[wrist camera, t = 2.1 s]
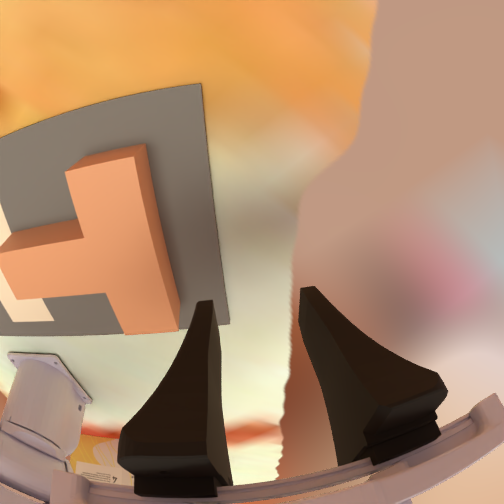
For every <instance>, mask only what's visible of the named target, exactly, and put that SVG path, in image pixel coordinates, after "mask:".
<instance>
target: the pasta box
mask: <svg viewBox="0 0 504 504" xmlns="http://www.w3.org/2000/svg"><path fill="white" fill-rule="evenodd" d="M118 442H119V439H113V438H105V437H97V436H91V435H84V434H80V440H79V444H78V446H77V448H76V449H75V451H74V452H73V453H72V454H71V458H70V464H71V467H72V469H73V472H74V473H75V474H79V475H82V476H84V477H86V478H87V479H88V480H90V481H96V482H103V483H111V484H119V485H128V486H134V475H132V474H131V473H129V472H128V471H127V470H125V469H124V468H122V467H121V466H120V465H119V464H118V463H117V453H118Z"/></svg>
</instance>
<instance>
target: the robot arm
mask: <svg viewBox="0 0 504 504" xmlns="http://www.w3.org/2000/svg"><path fill="white" fill-rule="evenodd" d="M298 322H299V326H300V330H301V334H302V338H303V341H304V344H305V347H306V349H307V352H308V355H309V357H310V360H311V362H312V365H313V367H314V370H315V372H316V375H317V377H318V380H319V383H320V386H321V389H322V392H323V396H324V400H325V404H326V407H327V412H328V416H329V420H330V425H331V430H332V435H333V440H334V444H335V450H336V456H337V462H338V467H335V468H331V469H327V470H323V471H320V472H315V473H311V474H306V475H301V476H296V477H291V478H287V479H281V480H274V481H268V482H261V483H253V484H245V485H235V486H233V480H232V474H231V468H230V462H229V456H228V449H227V442H226V435H225V427H224V419H223V411H222V398H221V345H220V336H219V329H218V324H217V319H216V314H215V308H214V303H213V300H204V301H198V302H197V303H196V307H195V311H194V314H193V317H192V320H191V323H190V326H189V329H188V331H187V334H186V336H185V339H184V341H183V343H182V345H181V347H180V349H179V351H178V354H177V356H176V358H175V359H174V361H173V363H172V365H171V367H170V368H169V370H168V372H167V374H166V375H165V377H164V378H163V380H162V381H161V383H160V384H159V386H158V387H157V389H156V390H155V391H154V393H153V394H152V395H151V397H150V398H149V399H148V400H147V402H146V403H145V404H144V405H143V406H142V408H141V409H140V410H139V411H138V412H137V413H136V414H135V415H134V416H133V417H132V419H131V420H130V421H129V422H128V423H127V424H126V425H125V426H124V427H123V428H122V430H121V434H120V438H119V442H118V453H117V463H118V464H119V465H120V466H121V467H122V468H124V469H125V470H127V471H128V472H129V473H131V474H132V475H134V486H128V485H119V484H111V483H103V482H96V481H90V480H88V479H87V478H86V477H84V476H82V475H79V474H75V473H74V472H73V469H72V467H71V464H70V462H69V461H68V460H67V459H65V457H66V456H68V455H70V454H72V453H73V452H74V451H75V449H76V448H77V446H78V444H79V440H80V434H81V428H82V422H83V416H84V411H85V405H86V404H91V403H92V400H91V398H90V397H89V396H88V395H87V394H86V393H85V391H84V390H83V389H82V388H81V387H80V385H79V384H78V383H77V382H76V380H75V379H74V378H73V377H72V375H71V374H70V373H69V371H68V370H67V369H66V367H65V366H64V365H63V363H62V362H61V361H60V359H59V358H58V357H57V356H56V355H44V354H22V353H8V355H7V356H8V358H9V359H10V361H11V362H12V363H13V364H14V365H15V367H16V368H17V369H18V370H17V373H16V376H15V378H14V381H13V384H12V387H11V390H10V393H9V396H8V399H7V402H6V405H5V408H4V412H3V415H2V419H1V422H0V482H1V483H3V484H5V485H7V486H9V487H12V488H13V489H16V490H18V491H20V492H22V493H25V494H27V495H29V496H32V497H34V498H36V499H39V500H42V501H44V502H45V503H43V504H232V503H244V502H253V501H260V500H268V499H275V498H281V497H286V496H291V495H297V494H302V493H306V492H311V491H315V490H319V489H323V488H327V487H331V486H334V485H338V484H342V483H345V482H349V481H352V480H355V479H358V478H361V477H364V476H368V475H370V474H373V473H375V474H373V475H371V476H370V477H369V479H368V480H367V481H366V482H364V483H361V484H358V485H355V486H351V487H347V488H344V489H340V490H336V491H333V492H328V493H324V494H320V495H316V496H312V497H307V498H303V499H298V500H294V501H289V502H284V503H279V504H412V501H411V498H413V497H415V496H417V495H419V494H422V493H424V492H426V491H427V490H430V489H431V488H433V487H435V486H437V485H439V484H441V483H443V482H444V481H446V480H448V479H450V478H451V477H453V476H455V475H457V474H458V473H460V472H461V471H463V470H465V469H466V468H468V467H470V466H471V465H473V464H474V463H476V462H477V461H479V460H480V459H482V458H483V457H485V456H486V455H488V454H489V453H490V452H492V451H493V450H494V449H496V448H497V447H499V446H500V445H501V444H502V443H504V407H503V405H502V403H501V402H500V400H499V398H498V396H497V395H496V393H493V394H492V395H490V396H489V397H487V398H485V399H484V400H482V401H481V402H479V403H478V404H476V405H475V406H474V407H473V408H472V409H471V411H470V412H469V413H467V414H466V415H464V416H462V417H460V418H458V419H456V420H455V421H453V422H451V423H449V424H447V425H445V426H443V427H441V428H439V427H438V425H437V424H436V421H435V420H436V419H437V414H436V412H435V410H436V409H437V408H438V407H439V405H440V404H441V403H442V402H443V401H444V399H445V398H446V396H447V393H448V390H447V388H446V386H445V385H444V382H443V381H442V379H441V378H440V376H439V374H438V373H437V372H434V371H432V370H429V369H426V368H423V367H421V366H418V365H416V364H414V363H412V362H410V361H408V360H405V359H404V358H402V357H400V356H398V355H396V354H394V353H393V352H391V351H389V350H388V349H386V348H384V347H383V346H381V345H379V344H378V343H377V342H375V341H374V340H372V339H371V338H370V337H368V336H367V335H366V334H364V333H363V332H362V331H360V330H359V329H358V328H357V327H356V326H355V325H353V324H352V323H351V322H350V321H349V320H348V319H347V318H346V317H345V316H344V315H343V314H341V313H340V312H339V311H338V310H337V309H336V308H335V307H334V306H333V305H332V304H331V303H330V302H329V301H328V300H327V299H326V298H325V296H324V295H323V294H322V293H321V292H320V291H319V290H318V289H317V288H316V287H315V286H311V287H305V288H301V289H300V305H299V319H298ZM376 472H377V473H376ZM0 504H40V503H38V502H35V501H33V500H30V499H28V498H26V497H23V496H21V495H19V494H16V493H14V492H12V491H10V490H8V489H6V488H4V487H3V486H1V485H0Z"/></svg>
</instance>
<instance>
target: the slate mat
mask: <svg viewBox="0 0 504 504" xmlns="http://www.w3.org/2000/svg"><path fill="white" fill-rule="evenodd" d="M144 143H146V149H147V155H148V160H149V166H150V172H151V177H152V182H153V188H154V193H155V198H156V203H157V208H158V212H159V217H160V222H161V226H162V231H163V235H164V240H165V244H166V248H167V252H168V256H169V261H170V265H171V269H172V273H173V276H174V280H175V284H176V288H177V292H178V295H179V299H180V315H179V329H189V326H190V323H191V320H192V317H193V314H194V311H195V307H196V303H197V302H198V301H204V300H213V303H214V308H215V314H216V319H217V324H218V325H227V324H230V320H229V313H228V307H227V300H226V293H225V286H224V279H223V272H222V265H221V257H220V250H219V242H218V235H217V227H216V219H215V211H214V203H213V195H212V186H211V178H210V169H209V160H208V150H207V141H206V131H205V121H204V111H203V100H202V89H201V84H193V85H186V86H179V87H172V88H166V89H160V90H155V91H149V92H144V93H139V94H135V95H130V96H125V97H121V98H117V99H113V100H109V101H105V102H101V103H97V104H94V105H90V106H87V107H83V108H80V109H77V110H73V111H70V112H67V113H64V114H61V115H58V116H55V117H52V118H49V119H46V120H44V121H41V122H38V123H36V124H33V125H30V126H28V127H25V128H23V129H20V130H18V131H16V132H13V133H11V134H9V135H6V136H4V137H2V138H0V246H1V245H2V244H3V243H4V242H5V241H6V239H7V238H8V237H9V236H10V235H11V234H12V233H13V232H17V231H21V230H25V229H30V228H35V227H39V226H44V225H49V224H53V223H58V222H63V221H68V220H74V219H78V217H77V214H76V211H75V207H74V204H73V201H72V197H71V194H70V190H69V187H68V183H67V179H66V175H65V171H66V170H68V169H69V168H70V167H71V166H73V165H74V164H75V163H77V162H78V161H79V160H81V159H82V158H83V157H84V156H88V155H92V154H96V153H101V152H105V151H110V150H114V149H119V148H124V147H129V146H134V145H139V144H144ZM108 334H124V332H123V330H122V328H121V326H120V323H119V321H118V319H117V317H116V315H115V313H114V311H113V308H112V306H111V304H110V302H109V299H108V297H107V295H106V293H96V294H85V295H74V296H62V297H50V298H38V299H24V300H17V299H16V297H15V296H14V294H13V292H12V290H11V288H10V286H9V284H8V283H7V281H6V279H5V277H4V275H3V273H2V271H1V269H0V336H84V335H108Z"/></svg>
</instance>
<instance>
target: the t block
mask: <svg viewBox="0 0 504 504" xmlns="http://www.w3.org/2000/svg"><path fill="white" fill-rule="evenodd" d="M65 175H66V179H67V183H68V187H69V190H70V194H71V197H72V201H73V204H74V207H75V211H76V214H77V217H78V219H74V220H68V221H63V222H58V223H53V224H49V225H44V226H39V227H35V228H30V229H25V230H21V231H17V232H13V233H12V234H11V235H10V236H9V237H8V238H7V239H6V241H5V242H4V243H3V244H2V245H1V246H0V269H1V271H2V273H3V275H4V277H5V279H6V281H7V283H8V284H9V286H10V288H11V290H12V292H13V294H14V296H15V297H16V299H17V300H24V299H38V298H50V297H62V296H74V295H85V294H96V293H106V295H107V297H108V299H109V302H110V304H111V306H112V308H113V311H114V313H115V315H116V317H117V319H118V321H119V323H120V326H121V328H122V330H123V332H124V334H125V335H136V334H150V333H163V332H175V331H179V315H180V299H179V295H178V292H177V288H176V284H175V280H174V276H173V273H172V269H171V265H170V261H169V256H168V252H167V248H166V244H165V240H164V235H163V231H162V226H161V222H160V217H159V212H158V208H157V203H156V198H155V193H154V188H153V182H152V177H151V172H150V166H149V160H148V155H147V149H146V143H144V144H139V145H134V146H129V147H124V148H119V149H114V150H110V151H105V152H101V153H96V154H92V155H88V156H84V157H83V158H82V159H81V160H79V161H78V162H77V163H75V164H74V165H73V166H71V167H70V168H69V169H68V170H66V171H65Z"/></svg>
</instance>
